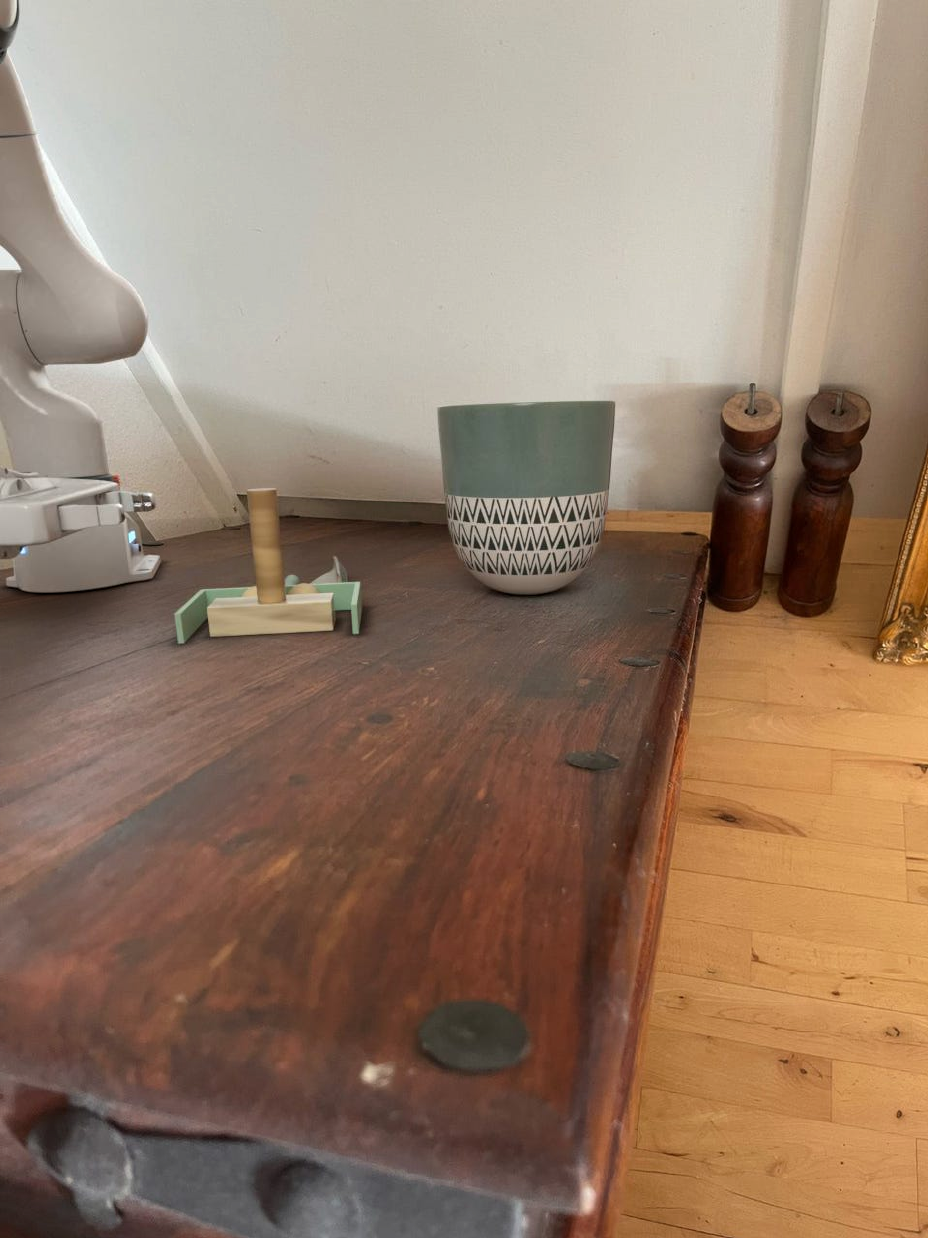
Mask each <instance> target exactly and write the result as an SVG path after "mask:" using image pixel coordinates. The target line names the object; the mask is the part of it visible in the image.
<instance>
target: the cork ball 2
mask: <svg viewBox="0 0 928 1238" xmlns="http://www.w3.org/2000/svg"><path fill="white" fill-rule="evenodd" d="M316 593H319V591H318V590H317V589H316V588H315V587H314V586H312V585H310V583H306V582H303V583H302V582H300V584H298V585H296V586H294V587H293V588H292V589H291V590H290V591H289V593H288V595H296V594H316Z"/></svg>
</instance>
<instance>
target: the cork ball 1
mask: <svg viewBox="0 0 928 1238" xmlns="http://www.w3.org/2000/svg"><path fill="white" fill-rule="evenodd" d="M249 587H250V588H249V589H247V590H246V591H245V592H244V593H243V595H242V597H254V596H257V588H256V585H253V586H249Z"/></svg>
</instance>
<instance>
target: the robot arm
mask: <svg viewBox="0 0 928 1238" xmlns="http://www.w3.org/2000/svg"><path fill="white" fill-rule="evenodd" d="M19 22H20V0H0V247H1V248H2V249H4V250H5V251H6V252H7V253H8V254H9V255H10V256H11V257H12V258H13V259H14V261H15V262H16V263H17V265H18V267H19V269H0V422H1V425H2V429H3V433H4V436H5V440H6V443H7V444H6V445H7V448H8V452H9V457H10V462H11V467H12V469H10V468H7V467H5V466H3V465H0V560H12V565H13V575H12V576H9V577H6V578H5V585H6V587H11V588H18V590H20V591H24V592H27V593H67V592H78V591H87V590H95V589H96V590H97V589H101V588H102V589H103V588H108V587H113V586H117V585H122V584H126V583H127V584H128V583H134V582H140V581H146V580H151V579H153V578H154V576H155V575H156V572H157V571H158V569H159V567H160V565H161V563H162V559H161V556H160V555H157V554H155V555H154V554H144V548H143V540H142V534H141V530H140V526H139V525H138V524H137V522H136V521H135V520H134V519H133V518H132V517H131V515H130V514H129V513H131V512H134V513H146V512H148V513H149V512H151V511H154V510H155V509H156V507H157V503H156V499H155V494H154V493H153V492H132V491H126V490H121V480H120V478H119V475H117V474H115V475H112V474H111V473H110V467H109V462H108V456H107V448H106V442H105V435H104V430H103V429H104V428H103V423H102V420H101V419H100V416H99V415H98V413H97V412H96V411H95V410H94V409H93V407H91V406H90V405H89V404H87V403H86V402H84V401H82V400H80V399H78V398H77V397H74V396H72V395H70V394H67V393H65V392H63V391H60V390H58V389H56V387H54V385H53V384H52V382H51V381H50V379H49V377H48V374H47V371H46V366H49V365H50V366H51V365H56V366H57V365H101V364H105V363H110V362H111V363H112V362H116V361H119V360H120V361H121V360H124V359H128V358H132V357H135V356H137V355H138V354H139V352H140V351H141V349H143V346H144V344H145V342H146V339H147V336H148V331H149V320H148V319H149V317H148V313H147V310H146V306H145V303H144V301H143V299H142V297H141V295H140V294H139V292H138V291H137V290H136V288H135V287H134V286H133V285H132V284H131V283H130V282H129V281H128V280H127V279H125V278H124V277H123V276H121V275H120V274H118V273H116V271H113V270H112V269H111V268H109V267H108V266H106V265H105V264H104V263H102V262H101V261H100V259H98V258H97V257H96V256H95V255H94V254H93V253H92V252H91V251H90V250H89V249H88V248H87V247H86V245H85V244H84V243H83V242H82V241H81V240H80V238H79V237H78V236H77V234H76V233H75V232H74V230H73V228H72V227H71V225H70V224H69V222H68V219H67V217H66V216H65V214H64V213H63V210H62V208H61V206H60V203H59V200H58V198H57V194H56V192H55V189H54V186H53V183H52V180H51V177H50V173H49V171H48V167H47V164H46V160H45V157H44V154H43V151H42V146H41V143H40V139H39V136H38V132H37V128H36V124H35V121H34V118H33V114H32V111H31V108H30V106H29V105H30V104H29V102H28V99H27V96H26V93H25V91H24V90H25V89H24V88H23V85H22V82H21V79H20V76H19V74H18V72H17V69H16V67H15V64H14V62H13V60H12V57H11V54H10V52H9V50H8V49H9V48H10V47H11V46H12V44H13V42H14V39H15V37H16V34H17V31H18V27H19Z"/></svg>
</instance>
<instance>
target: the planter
mask: <svg viewBox="0 0 928 1238" xmlns="http://www.w3.org/2000/svg"><path fill="white" fill-rule="evenodd" d="M436 413H437V414H436V415H437V417H436V418H437V430H438V440H439V449H440V461H441V471H442V474H441V475H442V484H443V492H444V493H443V494H444V505H445V513H446V522H447V528H448V533H449V536H450V540H451V542H452V545H453V548H454V550H455V553H456V555H457V557H458V559H459V560H460V562H461V564H463V566H464V567H465V569H466V570H467V571H468V572H469V573H470V574H471V575H472V576H473V577H475V579H477V580H478V581H479V582H481V583H482V584H483V585H485V586H487V587H488V588H490V589H492V590H495V591H498V592H501V593H505V594H511V595H519V596H520V595H526V596H531V595H541V594H547V593H551V592H554V591H557V590H559V589H562V588H564V587H566V586H567V585H569V584H570V583H572V582H573V581H575V579H577V578H578V577H579V576H580V575H581V574H583V572H584V571H585V570H586V569H587V568H588V566H589V565H590V564H591V563H592V561H593V560H594V558H595V556H596V555H597V553H598V551H599V548H600V547H601V543H602V540H603V538H604V537H603V536H604V532H605V528H606V524H607V516H608V508H609V507H608V506H609V495H610V494H609V493H610V486H611V485H610V484H611V483H610V482H611V473H612V471H611V469H612V457H613V446H614V445H613V444H614V432H615V418H616V401H615V400H561V401H560V400H557V401H555V400H554V401H522V402H521V401H519V402H495V403H494V402H493V403H492V402H491V403H471V404H470V403H469V404H468V403H467V404H451V405H439V406H437V407H436Z"/></svg>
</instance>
